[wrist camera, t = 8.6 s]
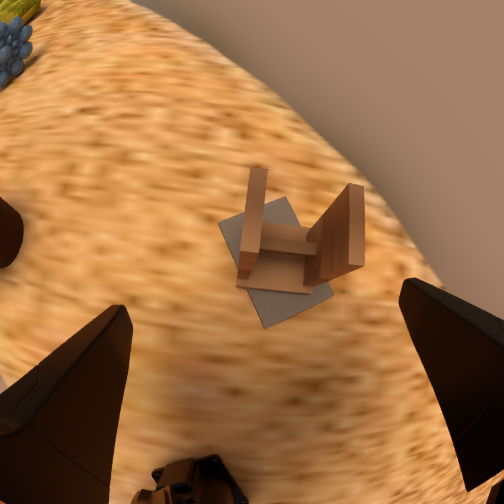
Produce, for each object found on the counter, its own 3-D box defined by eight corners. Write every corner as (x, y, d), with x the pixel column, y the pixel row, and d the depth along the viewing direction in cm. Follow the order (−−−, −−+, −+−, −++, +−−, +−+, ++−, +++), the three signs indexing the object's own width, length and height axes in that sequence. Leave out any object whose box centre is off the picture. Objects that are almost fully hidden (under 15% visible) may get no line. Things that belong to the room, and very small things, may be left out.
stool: (308, 294, 22) (364, 276, 12) (236, 287, 22) (238, 262, 12) (312, 233, 23) (363, 177, 13) (244, 224, 23) (251, 157, 13)
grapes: (41, 46, 29) (18, 2, 17) (48, 56, 28) (22, 7, 16) (-8, 88, 26) (-37, 50, 15) (-6, 103, 26) (-40, 61, 14)
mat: (332, 295, 22) (333, 295, 22) (264, 328, 21) (265, 328, 21) (284, 197, 24) (285, 196, 24) (218, 224, 23) (218, 222, 23)
